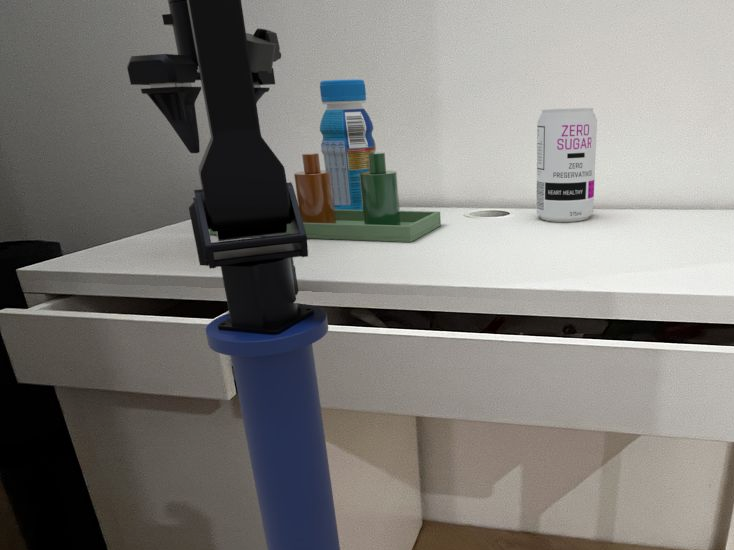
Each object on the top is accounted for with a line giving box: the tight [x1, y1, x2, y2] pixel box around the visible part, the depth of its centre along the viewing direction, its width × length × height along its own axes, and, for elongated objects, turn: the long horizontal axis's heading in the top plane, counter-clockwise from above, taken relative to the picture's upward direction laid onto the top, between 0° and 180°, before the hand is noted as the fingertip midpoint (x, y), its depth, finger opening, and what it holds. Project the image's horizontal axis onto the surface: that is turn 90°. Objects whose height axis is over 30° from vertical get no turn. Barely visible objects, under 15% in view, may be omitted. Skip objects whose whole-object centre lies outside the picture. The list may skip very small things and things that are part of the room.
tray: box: [209, 209, 442, 243], centre depth 89 cm, size 11×31×2 cm, turn 72°
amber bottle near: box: [293, 152, 337, 224], centre depth 87 cm, size 5×5×10 cm
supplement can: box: [536, 107, 598, 223], centre depth 89 cm, size 8×8×15 cm
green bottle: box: [359, 152, 401, 225], centre depth 84 cm, size 5×5×10 cm
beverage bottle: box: [319, 79, 377, 210], centre depth 97 cm, size 8×8×20 cm
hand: (221, 149), depth 76 cm, fingers open, 9 cm apart
